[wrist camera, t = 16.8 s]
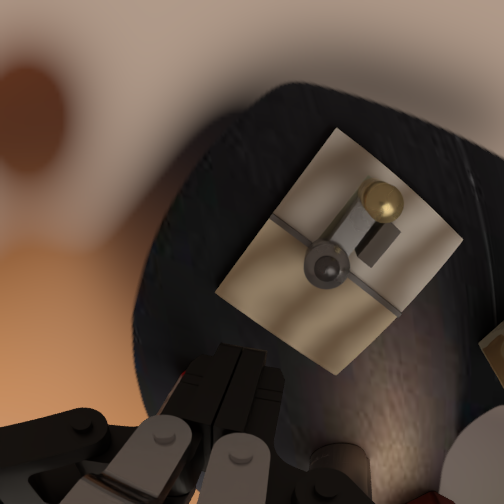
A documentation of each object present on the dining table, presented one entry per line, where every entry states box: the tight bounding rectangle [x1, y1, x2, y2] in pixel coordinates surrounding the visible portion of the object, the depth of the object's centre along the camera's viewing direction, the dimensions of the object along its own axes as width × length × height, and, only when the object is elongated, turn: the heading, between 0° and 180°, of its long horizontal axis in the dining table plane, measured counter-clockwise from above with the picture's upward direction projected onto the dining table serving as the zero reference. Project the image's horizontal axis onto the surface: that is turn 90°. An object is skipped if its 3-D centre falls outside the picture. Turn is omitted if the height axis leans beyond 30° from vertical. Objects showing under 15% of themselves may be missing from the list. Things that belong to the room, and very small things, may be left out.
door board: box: [215, 128, 463, 375], centre depth 32 cm, size 18×22×4 cm
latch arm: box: [304, 178, 404, 289], centre depth 28 cm, size 12×4×6 cm, turn 148°
